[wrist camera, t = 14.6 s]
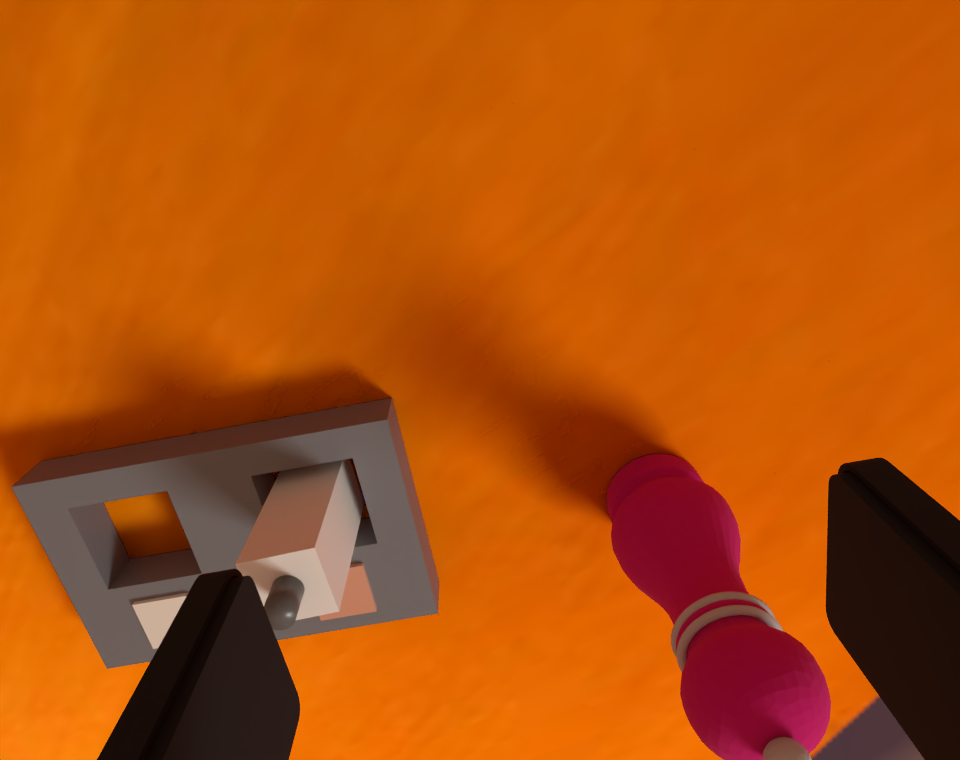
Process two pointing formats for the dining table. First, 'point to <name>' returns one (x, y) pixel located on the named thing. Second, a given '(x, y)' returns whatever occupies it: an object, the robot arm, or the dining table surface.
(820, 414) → the dining table surface
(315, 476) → the plug
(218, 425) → the dining table surface
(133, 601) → the socket board
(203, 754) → the robot arm
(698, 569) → the pepper mill
